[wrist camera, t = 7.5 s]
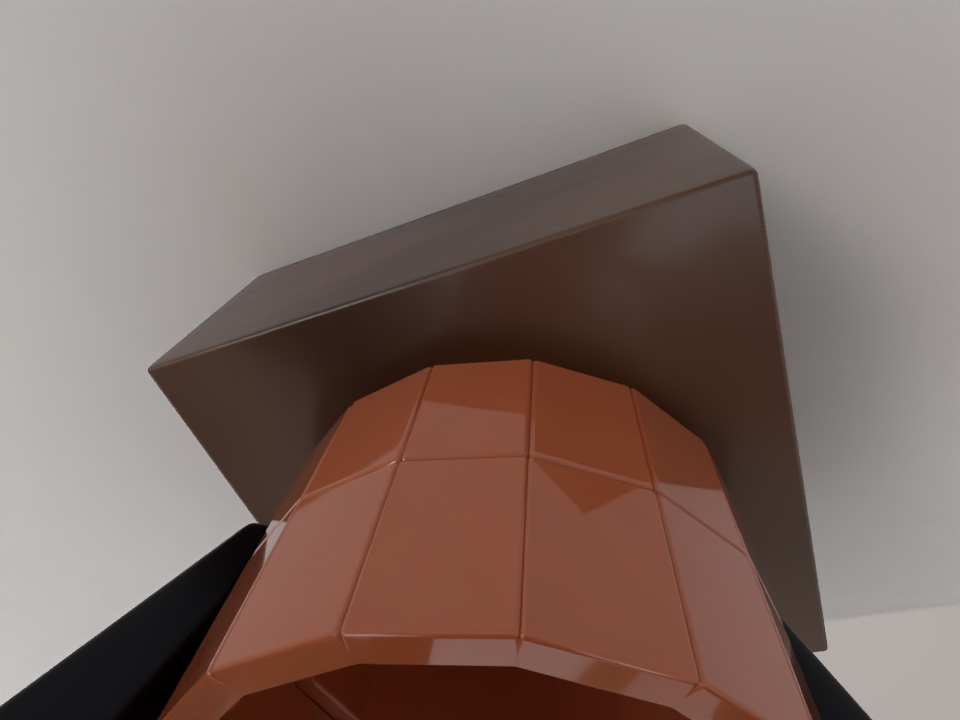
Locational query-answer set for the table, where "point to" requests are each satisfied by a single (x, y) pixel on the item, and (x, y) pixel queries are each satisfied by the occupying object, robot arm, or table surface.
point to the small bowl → (500, 568)
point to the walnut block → (532, 330)
